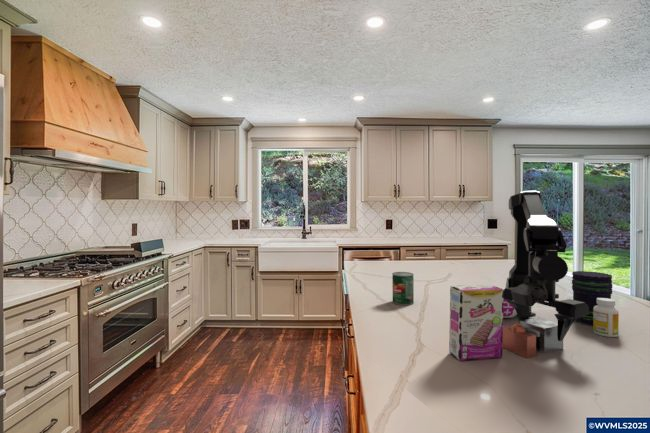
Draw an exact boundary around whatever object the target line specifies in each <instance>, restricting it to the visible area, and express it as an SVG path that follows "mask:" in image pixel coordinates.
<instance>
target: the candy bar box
mask: <svg viewBox="0 0 650 433" xmlns="http://www.w3.org/2000/svg"><path fill="white" fill-rule="evenodd" d="M449 289H450V290H449V291H450V294H449V298H450V299H449V339H448V340H449V348H448V353H449V354H450V355H452V356H453V357H454V358H456V360H458V361H459V362H460V361H461V362H462V361H463V362H464V361H472V360H473V361H475V360H486V359H502V358H503V348H502V339H503V327H504V318H503V297H504V289H505V288H504V289H503V288H501V287H498V286H495V285H493V284H492V285H491V284H480V285H479V284H476V285H475V284H473V285H450V288H449Z"/></svg>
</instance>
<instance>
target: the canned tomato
mask: <svg viewBox="0 0 650 433" xmlns="http://www.w3.org/2000/svg"><path fill="white" fill-rule="evenodd" d="M391 275H392V278H391V279H392V287H391V288H392V303H393V304H394V305H398V306H399V305H400V306H412V305H414V294H415V293H414V291H415V290H414V282H415V281H414V275H415V274H414V273H412V272H410V271H409V272H407V271H394V272H392V274H391Z"/></svg>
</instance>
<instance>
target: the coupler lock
mask: <svg viewBox="0 0 650 433" xmlns="http://www.w3.org/2000/svg"><path fill="white" fill-rule="evenodd" d="M519 324H521V325H523V326H524V328H525V330H526V332H529V333H532V334H535V335H536V337H540V349H539V352H541V353H543V354H545V353H546V354H547V353H551V352H552V353H553V352H554V351H560V350H562V349H564V339H563V340H562V341H558V336H557V328H558V322H555V321H551V320H549V319H545V318H541V317H533V318H528V319H526V320H521V321H520V320H519Z"/></svg>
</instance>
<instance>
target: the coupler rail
mask: <svg viewBox="0 0 650 433" xmlns="http://www.w3.org/2000/svg"><path fill="white" fill-rule="evenodd" d="M502 349H505V350H508V351H510V352H512V353H515V354H516V355H519V356H521V357H523V358H526V359H529V358H533V357H536V356H537V350H540V337H536V335H535V334H532V333H529V332H526V330H525V328H524V326H523V325H521V324H520V322H519V323H518V322H517V323H513V324H512V325H507V326H503V339H502Z"/></svg>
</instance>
